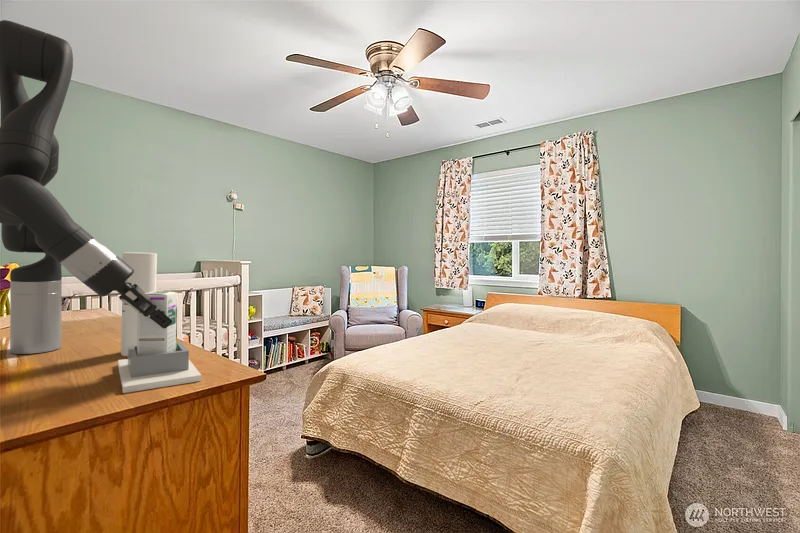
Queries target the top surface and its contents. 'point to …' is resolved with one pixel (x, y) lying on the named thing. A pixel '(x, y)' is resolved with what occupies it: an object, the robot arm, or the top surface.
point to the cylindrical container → (146, 281)
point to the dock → (156, 369)
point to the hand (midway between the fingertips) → (165, 321)
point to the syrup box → (151, 333)
